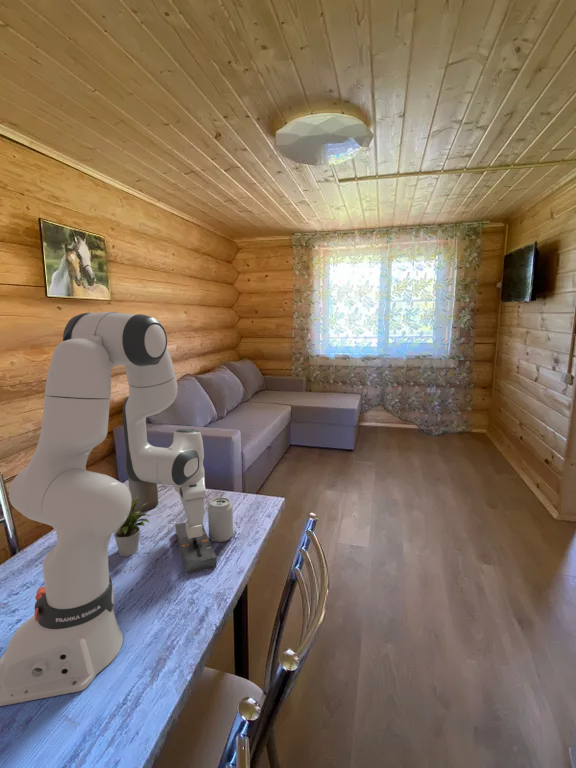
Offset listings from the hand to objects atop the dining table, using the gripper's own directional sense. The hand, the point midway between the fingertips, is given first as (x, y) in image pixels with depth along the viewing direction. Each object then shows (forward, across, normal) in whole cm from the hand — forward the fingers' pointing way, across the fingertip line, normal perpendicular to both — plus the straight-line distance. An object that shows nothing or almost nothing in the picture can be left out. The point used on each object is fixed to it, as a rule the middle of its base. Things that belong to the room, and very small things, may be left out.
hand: (191, 524), depth 115 cm
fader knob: (+3, +4, 0) cm, 5 cm away
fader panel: (+6, +3, 0) cm, 7 cm away
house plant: (+6, -3, -19) cm, 20 cm away
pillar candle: (+6, -32, -12) cm, 34 cm away
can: (+6, 0, +9) cm, 11 cm away
